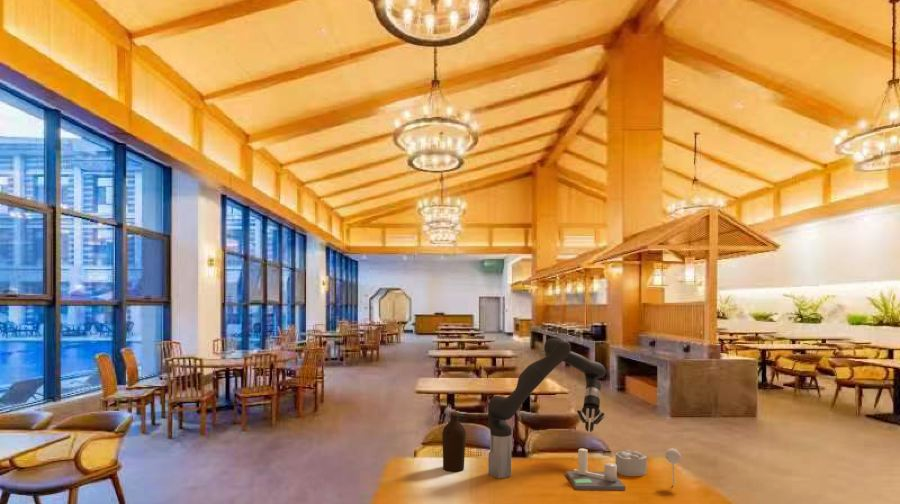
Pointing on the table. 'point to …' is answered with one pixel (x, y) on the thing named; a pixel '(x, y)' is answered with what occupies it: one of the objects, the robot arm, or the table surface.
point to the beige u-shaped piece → (609, 473)
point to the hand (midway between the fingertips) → (589, 430)
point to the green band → (582, 480)
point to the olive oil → (453, 445)
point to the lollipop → (673, 457)
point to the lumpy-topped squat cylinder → (631, 463)
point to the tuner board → (594, 482)
